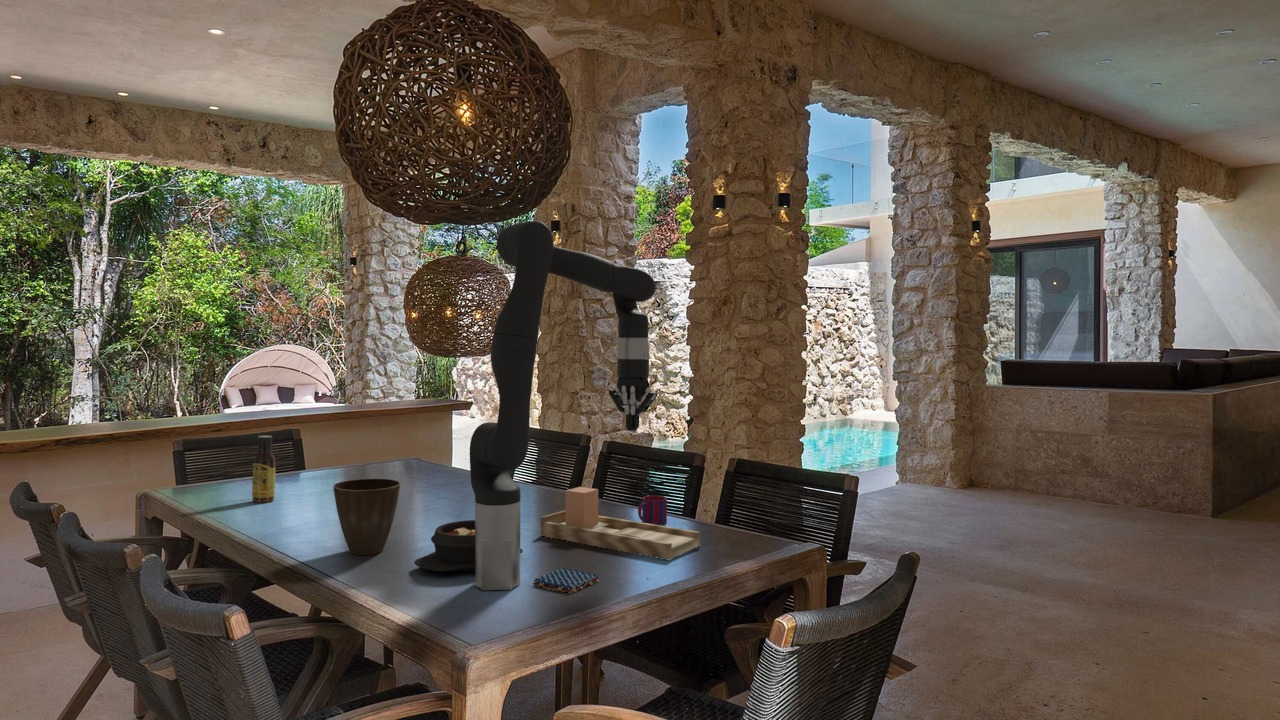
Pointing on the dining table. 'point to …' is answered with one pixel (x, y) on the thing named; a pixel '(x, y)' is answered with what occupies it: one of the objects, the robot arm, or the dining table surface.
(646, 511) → the mug
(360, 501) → the plant pot
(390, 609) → the dining table surface
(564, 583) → the woven mat
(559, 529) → the tray
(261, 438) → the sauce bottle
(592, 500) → the terracotta block
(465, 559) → the casserole
